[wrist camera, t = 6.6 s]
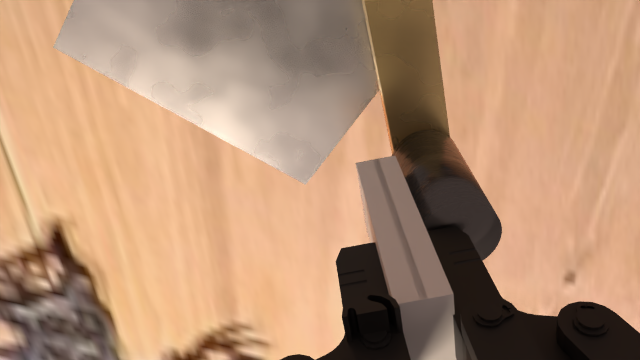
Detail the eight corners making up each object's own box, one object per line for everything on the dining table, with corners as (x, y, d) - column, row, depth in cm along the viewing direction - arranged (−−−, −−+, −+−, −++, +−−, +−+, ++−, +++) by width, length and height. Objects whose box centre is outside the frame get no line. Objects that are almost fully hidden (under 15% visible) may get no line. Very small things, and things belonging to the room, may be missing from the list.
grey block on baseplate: (98, 9, 22) (52, 47, 17) (175, -158, 19) (144, -161, 15) (301, 128, 25) (305, 184, 21) (393, 2, 22) (419, 37, 18)
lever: (285, -224, 14) (286, -263, 9) (421, -266, 13) (495, -328, 9) (378, 190, 21) (405, 288, 16) (469, 168, 20) (524, 262, 16)
